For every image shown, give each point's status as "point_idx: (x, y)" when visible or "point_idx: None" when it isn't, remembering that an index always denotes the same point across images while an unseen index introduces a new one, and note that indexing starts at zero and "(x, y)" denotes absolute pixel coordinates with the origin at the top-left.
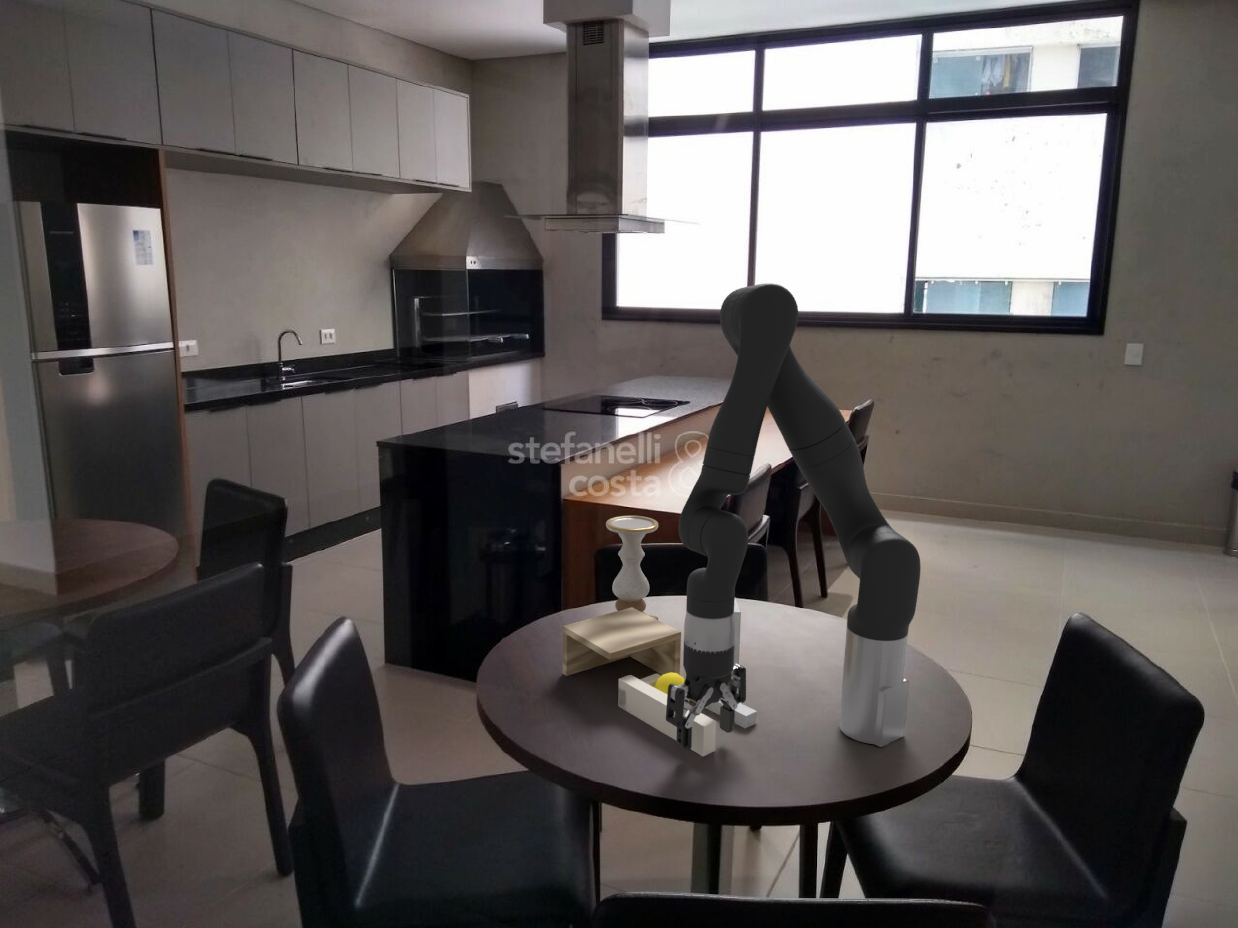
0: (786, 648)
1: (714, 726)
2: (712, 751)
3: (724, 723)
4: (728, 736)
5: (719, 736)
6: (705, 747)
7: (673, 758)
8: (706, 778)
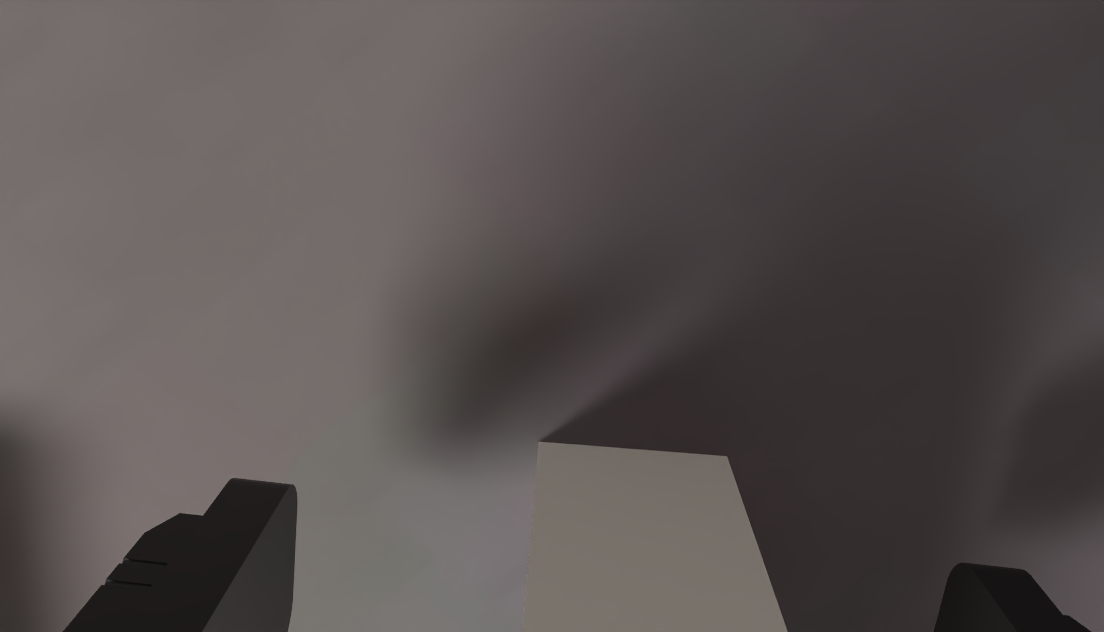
0: None
1: (560, 614)
2: (576, 447)
3: (264, 613)
4: None
5: None
6: (705, 495)
7: None
8: (1078, 145)
